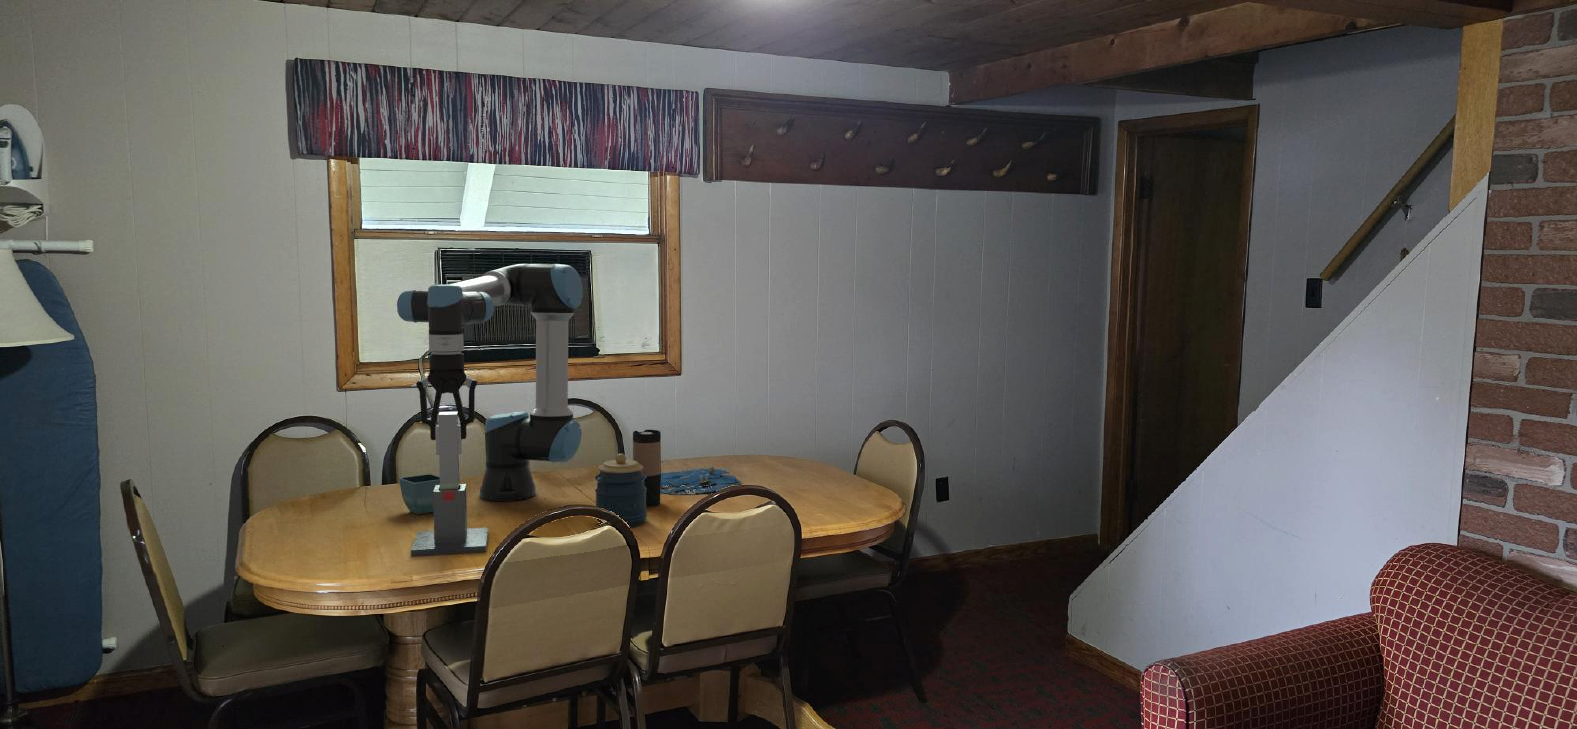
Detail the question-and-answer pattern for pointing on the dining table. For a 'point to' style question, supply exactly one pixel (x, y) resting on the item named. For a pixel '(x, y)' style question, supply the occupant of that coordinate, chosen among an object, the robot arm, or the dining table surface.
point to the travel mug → (649, 462)
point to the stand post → (448, 451)
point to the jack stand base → (450, 527)
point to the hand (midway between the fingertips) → (449, 453)
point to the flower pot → (419, 492)
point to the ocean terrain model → (697, 480)
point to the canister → (622, 490)
